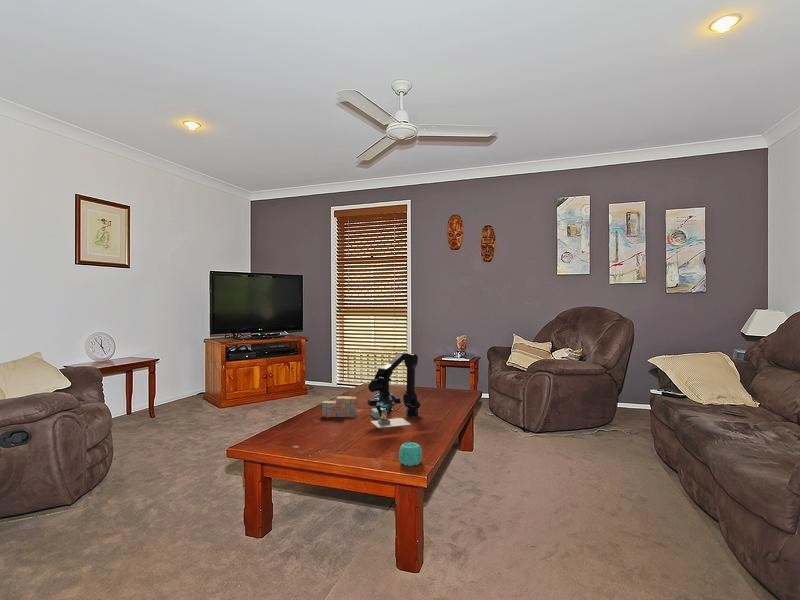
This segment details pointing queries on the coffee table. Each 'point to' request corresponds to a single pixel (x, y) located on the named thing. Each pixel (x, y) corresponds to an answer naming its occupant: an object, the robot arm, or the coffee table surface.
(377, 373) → the robot arm
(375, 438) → the coffee table surface
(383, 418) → the pin
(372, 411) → the block
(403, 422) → the board
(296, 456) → the coffee table surface
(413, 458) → the decorative dice
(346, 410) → the stack of blocks
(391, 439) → the coffee table surface
